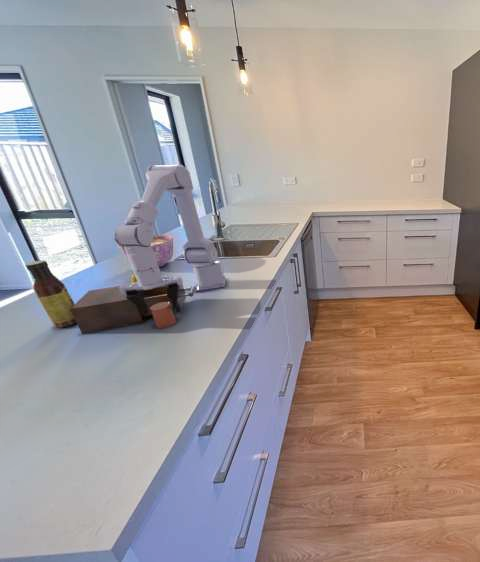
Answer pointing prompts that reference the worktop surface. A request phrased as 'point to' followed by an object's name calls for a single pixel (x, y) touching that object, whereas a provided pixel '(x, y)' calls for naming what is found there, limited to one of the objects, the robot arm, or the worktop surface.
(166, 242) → the bowl of food
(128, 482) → the worktop surface
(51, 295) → the sauce bottle
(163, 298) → the drawer
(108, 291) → the cabinet
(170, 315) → the orange block
